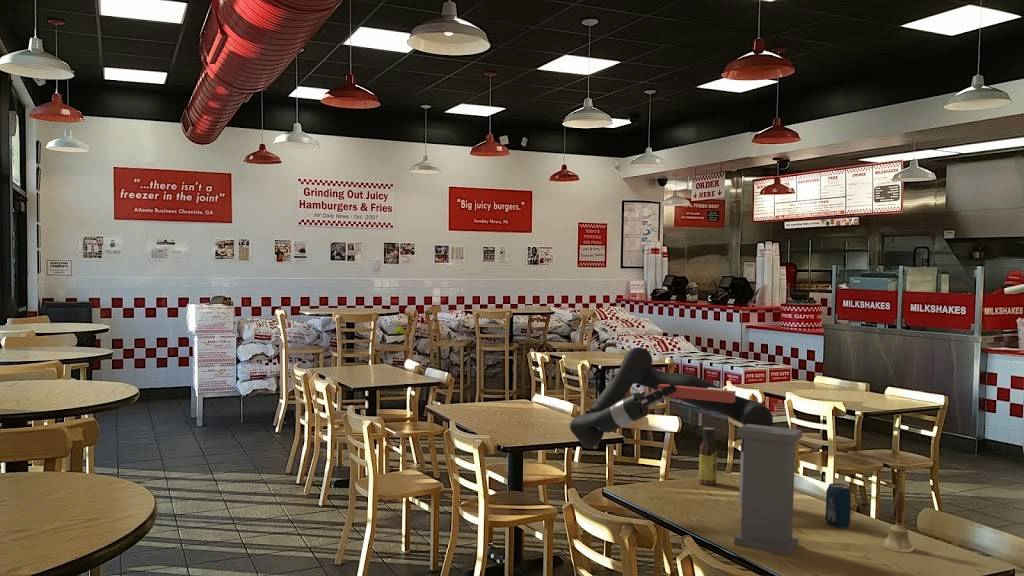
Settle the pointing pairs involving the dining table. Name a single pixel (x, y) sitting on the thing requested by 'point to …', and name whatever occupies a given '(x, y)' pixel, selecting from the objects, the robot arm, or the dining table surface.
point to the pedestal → (768, 488)
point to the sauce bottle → (708, 458)
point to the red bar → (702, 393)
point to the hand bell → (898, 527)
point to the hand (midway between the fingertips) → (677, 386)
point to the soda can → (838, 505)
